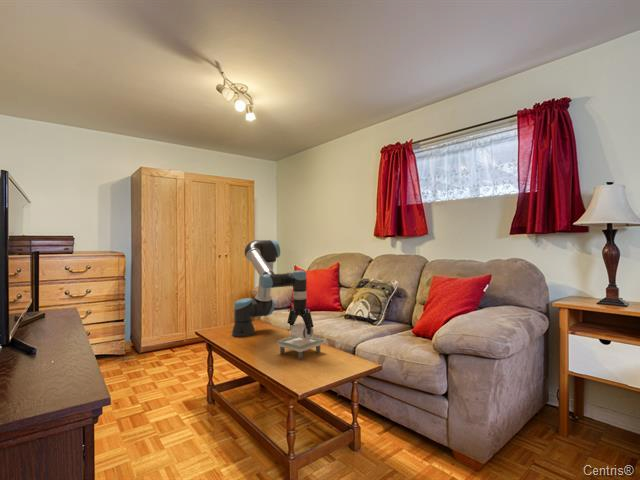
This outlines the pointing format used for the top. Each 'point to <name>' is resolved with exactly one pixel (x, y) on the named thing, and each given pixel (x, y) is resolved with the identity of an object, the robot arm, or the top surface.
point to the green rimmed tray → (299, 345)
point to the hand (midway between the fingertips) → (300, 338)
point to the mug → (300, 330)
